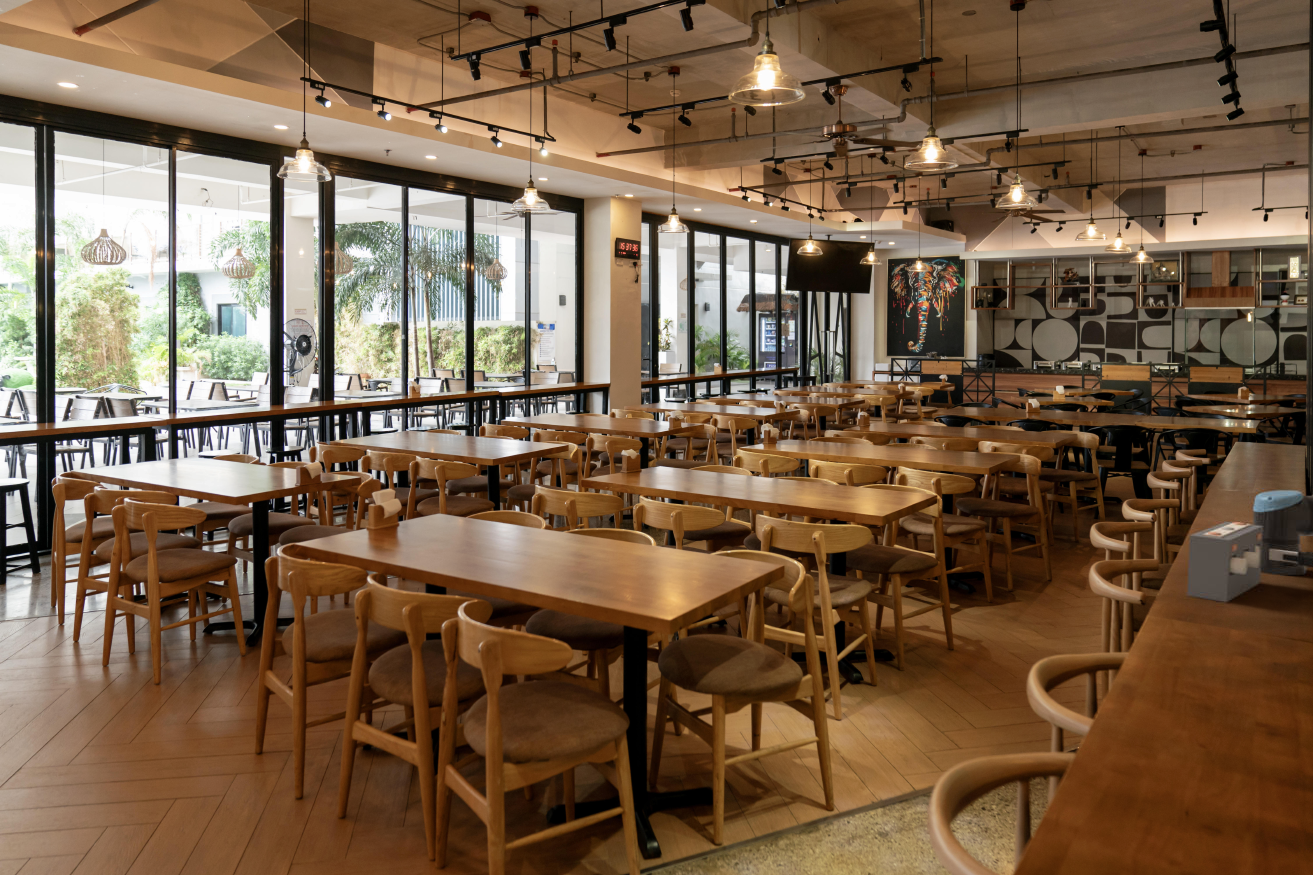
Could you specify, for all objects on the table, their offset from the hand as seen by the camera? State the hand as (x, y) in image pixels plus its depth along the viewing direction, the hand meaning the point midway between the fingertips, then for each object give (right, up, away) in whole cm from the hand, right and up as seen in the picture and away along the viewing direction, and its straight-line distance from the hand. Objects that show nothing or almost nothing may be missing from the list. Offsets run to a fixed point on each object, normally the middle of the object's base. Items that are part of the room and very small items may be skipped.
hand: (1270, 554), depth 243 cm
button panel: (-13, -9, -1) cm, 16 cm away
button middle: (-10, -3, -5) cm, 11 cm away
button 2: (-4, -2, +5) cm, 6 cm away
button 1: (-18, -3, -12) cm, 22 cm away
